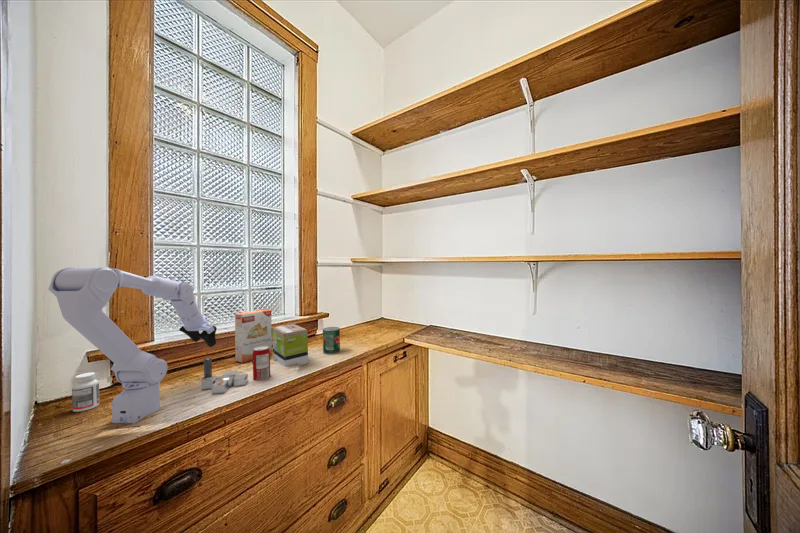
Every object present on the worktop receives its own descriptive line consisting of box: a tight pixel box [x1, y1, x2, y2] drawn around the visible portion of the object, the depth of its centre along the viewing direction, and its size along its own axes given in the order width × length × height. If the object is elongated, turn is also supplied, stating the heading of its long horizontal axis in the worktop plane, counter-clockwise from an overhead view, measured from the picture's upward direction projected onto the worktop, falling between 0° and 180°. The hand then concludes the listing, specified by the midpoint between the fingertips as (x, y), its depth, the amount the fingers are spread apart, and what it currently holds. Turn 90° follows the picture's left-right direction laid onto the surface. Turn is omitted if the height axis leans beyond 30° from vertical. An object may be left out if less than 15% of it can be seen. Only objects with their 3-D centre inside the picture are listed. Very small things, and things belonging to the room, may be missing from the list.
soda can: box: [252, 346, 271, 381], centre depth 101 cm, size 6×6×12 cm
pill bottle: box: [71, 371, 101, 413], centre depth 83 cm, size 5×5×10 cm
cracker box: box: [234, 309, 273, 364], centre depth 127 cm, size 14×6×21 cm, turn 148°
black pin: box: [203, 357, 213, 380], centre depth 102 cm, size 2×2×8 cm
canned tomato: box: [322, 326, 341, 355], centre depth 134 cm, size 8×8×11 cm
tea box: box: [271, 323, 309, 367], centre depth 120 cm, size 15×10×15 cm, turn 42°
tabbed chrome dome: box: [201, 370, 249, 395], centre depth 95 cm, size 13×13×3 cm
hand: (205, 342), depth 101 cm, fingers open, 7 cm apart
